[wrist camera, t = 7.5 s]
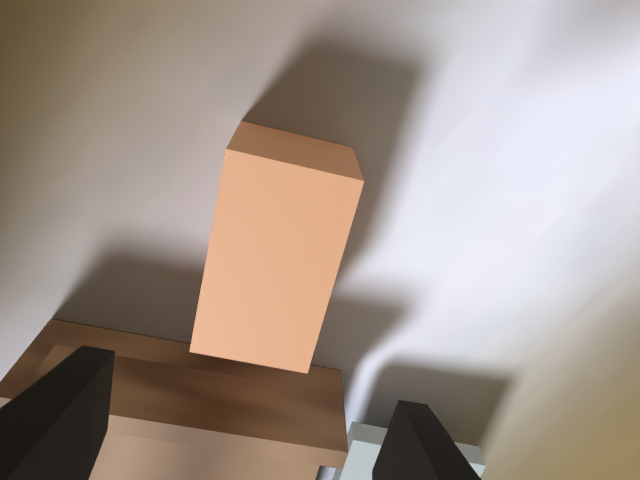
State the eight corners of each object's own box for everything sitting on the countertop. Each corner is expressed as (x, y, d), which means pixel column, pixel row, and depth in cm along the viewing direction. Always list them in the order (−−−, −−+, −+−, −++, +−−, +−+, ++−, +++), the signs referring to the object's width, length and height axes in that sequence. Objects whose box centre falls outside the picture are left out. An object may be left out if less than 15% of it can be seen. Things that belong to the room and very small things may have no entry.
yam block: (209, 291, 21) (189, 351, 17) (241, 119, 18) (225, 148, 15) (306, 310, 21) (307, 373, 18) (352, 146, 19) (364, 181, 15)
